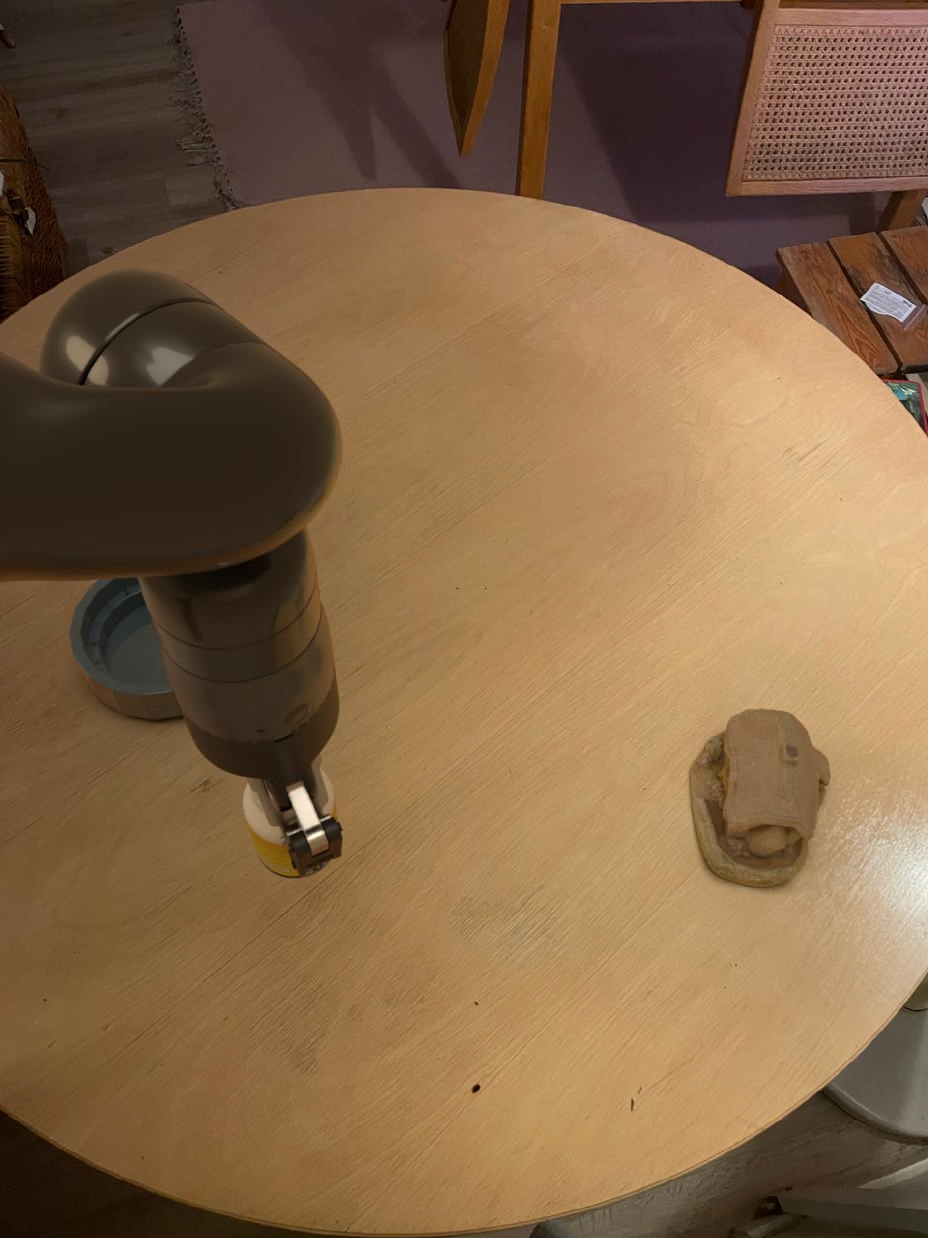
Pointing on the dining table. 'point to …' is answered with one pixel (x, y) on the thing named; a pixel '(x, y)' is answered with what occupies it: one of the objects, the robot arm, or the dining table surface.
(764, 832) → the ceramic model
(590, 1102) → the dining table surface
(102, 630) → the bowl
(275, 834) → the supplement bottle
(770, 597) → the dining table surface
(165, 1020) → the dining table surface
